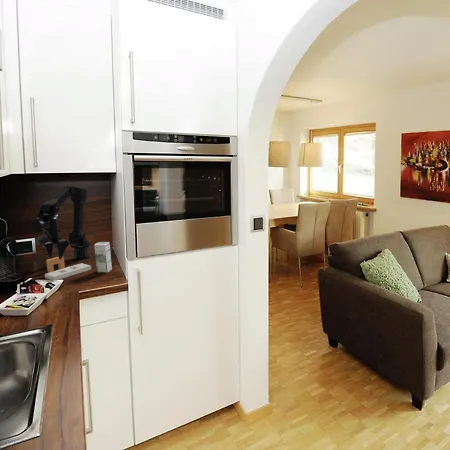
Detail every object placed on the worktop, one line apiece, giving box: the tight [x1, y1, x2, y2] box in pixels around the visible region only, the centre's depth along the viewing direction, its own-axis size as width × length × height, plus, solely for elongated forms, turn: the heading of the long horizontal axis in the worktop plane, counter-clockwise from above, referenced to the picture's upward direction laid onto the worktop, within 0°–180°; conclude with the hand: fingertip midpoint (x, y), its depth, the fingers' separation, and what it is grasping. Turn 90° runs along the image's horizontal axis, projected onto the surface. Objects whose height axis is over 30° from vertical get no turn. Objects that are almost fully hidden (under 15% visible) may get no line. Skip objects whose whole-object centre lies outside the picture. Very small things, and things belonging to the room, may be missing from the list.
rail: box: [44, 262, 92, 281], centre depth 183 cm, size 20×8×2 cm, turn 145°
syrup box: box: [94, 241, 113, 273], centre depth 185 cm, size 6×6×14 cm
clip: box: [45, 256, 66, 273], centre depth 189 cm, size 8×2×6 cm, turn 145°
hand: (55, 258), depth 189 cm, fingers open, 9 cm apart
